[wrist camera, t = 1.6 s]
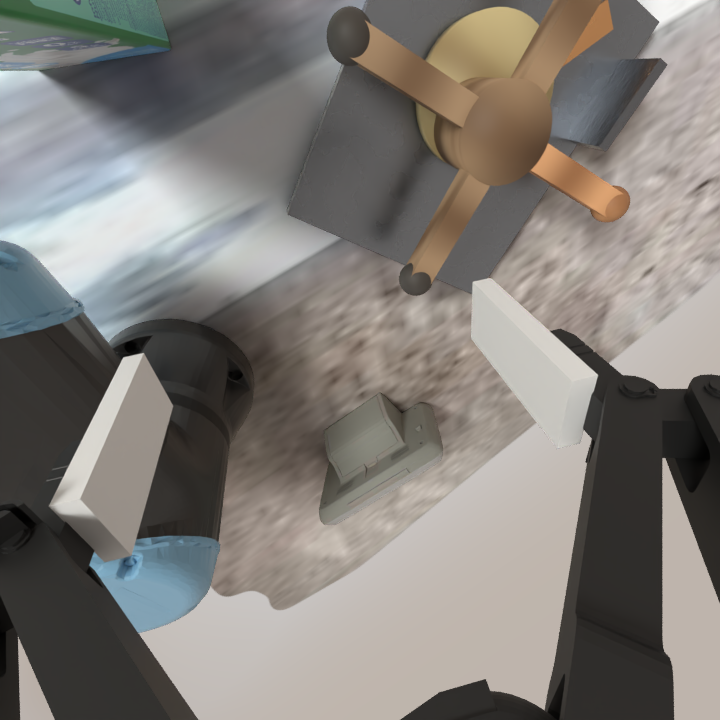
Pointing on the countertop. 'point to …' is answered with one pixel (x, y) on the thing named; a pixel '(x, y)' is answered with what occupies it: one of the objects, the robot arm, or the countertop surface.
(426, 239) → the capstan
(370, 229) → the stand
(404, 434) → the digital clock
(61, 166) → the countertop surface
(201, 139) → the countertop surface
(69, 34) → the milk carton
